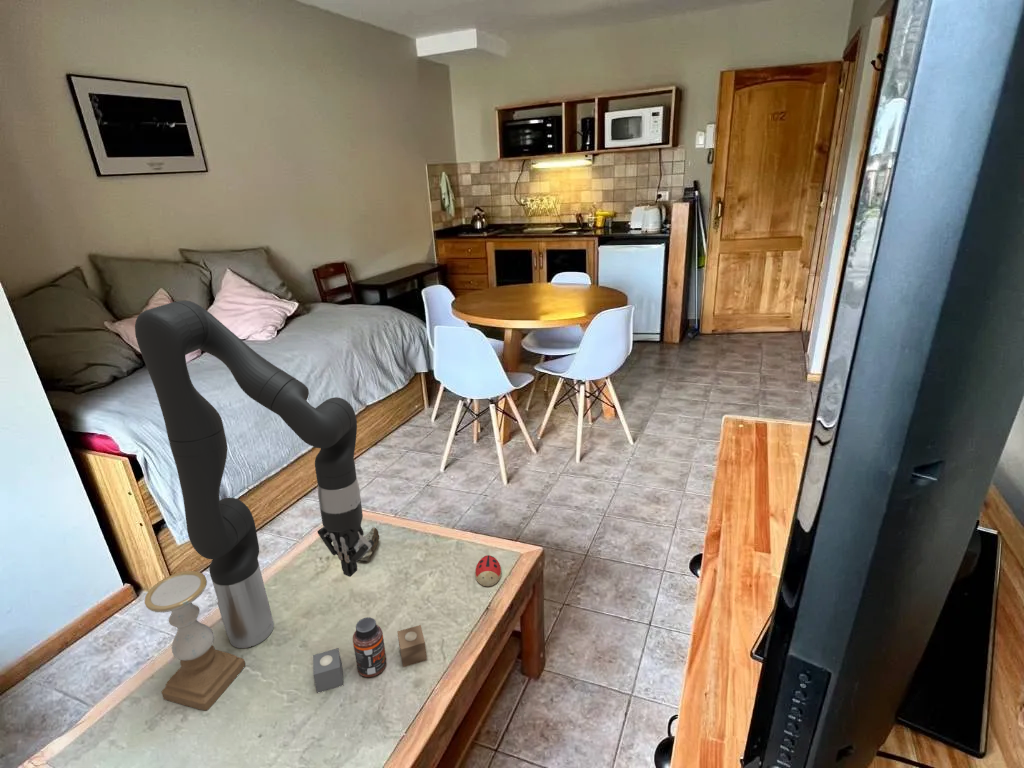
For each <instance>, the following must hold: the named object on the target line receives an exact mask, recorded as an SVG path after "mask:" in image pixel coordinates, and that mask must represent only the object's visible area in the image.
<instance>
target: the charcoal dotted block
mask: <svg viewBox="0 0 1024 768" xmlns="http://www.w3.org/2000/svg"><path fill="white" fill-rule="evenodd" d="M339 648H340V647H336V648H333V649H330V650H326V651H322V652H319V653H315V654H312V669H313V670H312V674H313V675H312V676H313V680H314V684H315V689H316V693H317V694H319V693H318V692H320V693H323V692H325V691H326V692H327V691H329V690H332V689H336V688H339V686H340V687H343V686H344V674H343V673H344V672H343V664H342V663H343V662H342V658H341V653H340V649H339ZM342 685H343V686H342ZM322 691H323V692H322Z"/></svg>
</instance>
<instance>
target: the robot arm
mask: <svg viewBox="0 0 1024 768" xmlns="http://www.w3.org/2000/svg"><path fill="white" fill-rule="evenodd" d="M134 333H135V334H134V335H135V338H136V339H135V340H136V343H137V345H138V349H139V352H140V354H141V356H142V359H143V362H144V364H145V366H146V370H147V372H148V375H149V378H150V380H151V383H152V384H153V388H154V391H155V393H156V397H157V400H158V403H159V406H160V411H161V413H162V418H163V421H164V424H165V429H166V434H167V438H168V439H167V440H168V443H169V446H170V450H171V454H172V457H173V460H174V464H175V467H176V470H177V475H178V479H179V480H178V481H179V484H180V488H181V489H180V490H181V493H182V498H183V500H182V501H183V507H184V514H185V515H184V516H185V523H186V530H187V535H188V539H189V541H190V544H191V546H192V547H193V549H194V551H196V553H197V554H198V555H200V556H201V557H202V558H204V559H207V560H211V562H210V564H209V575H210V578H211V582H212V585H213V589H214V592H215V596H216V598H217V607H218V611H219V614H220V617H221V620H222V624H223V628H224V630H225V634H226V636H227V637H228V641H229V642H230V644H231V646H232V647H235V648H237V649H247V648H251V646H252V647H254V646H257V645H259V644H261V643H262V642H263V641H265V640H266V639H268V637H269V636H270V635H271V634H272V632H273V630H274V628H275V626H274V625H275V624H274V619H273V616H272V610H271V606H270V603H269V602H270V601H269V598H268V595H267V591H266V587H265V582H264V579H263V575H262V571H261V567H260V564H259V563H260V562H259V560H258V559H259V555H260V545H259V540H258V539H259V538H258V534H257V529H256V528H257V527H256V523H255V522H256V521H255V520H254V516H253V513H252V511H251V509H249V507H248V506H247V504H246V503H244V502H243V501H242V500H240V499H238V498H236V497H225V498H221V499H220V491H221V485H222V480H223V475H224V472H225V468H226V464H227V463H226V462H227V457H228V442H227V437H226V434H225V433H226V432H225V427H224V423H223V419H222V417H221V414H220V413H219V411H217V409H216V408H215V407H214V406H213V405H212V404H211V402H210V401H208V400H207V398H205V397H204V396H203V395H202V394H201V393H200V392H199V391H198V390H197V389H196V388H195V386H194V385H193V382H192V379H191V376H190V373H189V370H188V366H187V361H186V360H187V359H186V355H188V354H191V353H193V352H196V351H199V350H200V351H202V352H205V353H207V354H209V355H211V356H213V357H215V358H216V359H218V360H219V361H221V362H222V363H223V364H224V365H225V366H226V367H227V369H228V370H229V371H230V373H231V375H232V376H233V378H234V380H235V382H236V383H237V385H238V386H239V387H240V389H241V390H242V391H243V392H244V393H245V394H246V395H247V396H248V397H249V398H250V399H252V400H253V401H255V402H257V404H260V405H261V406H262V407H264V408H266V409H267V410H270V411H271V412H272V413H274V414H276V415H278V416H279V417H280V418H281V420H283V422H284V423H285V424H286V425H287V426H288V427H289V428H290V429H291V430H292V431H293V432H294V433H295V435H297V437H299V439H300V440H301V441H303V442H304V443H306V444H307V445H309V446H311V447H313V448H317V449H319V451H318V453H317V455H316V456H315V460H314V468H315V477H316V481H317V499H318V505H319V510H320V517H321V523H322V527H321V528H319V529H318V530H317V535H318V536H319V537H320V539H321V541H322V542H323V543H324V545H325V546H326V548H327V549H328V550H329V552H330V553H331V555H333V556H336V555H337V558H338V560H339V561H340V564H341V570H342V573H343V575H344V576H347V577H353V575H354V574H355V573H356V572H358V561H360V558H362V557H363V556H364V555H365V554H366V553H367V552H368V550H369V549H370V548H371V547H372V546H373V545H374V542H373V540H369V541H367V539H366V538H365V537H364V536H365V535H364V533H365V532H364V529H363V528H362V521H363V518H364V517H363V516H364V515H363V509H362V508H363V507H362V499H361V491H360V485H359V482H358V478H357V472H356V471H357V469H356V462H355V450H356V443H357V430H358V422H357V421H358V420H357V415H356V412H355V409H354V408H353V406H352V405H351V403H350V402H348V401H347V400H346V399H344V398H341V397H330V398H328V399H326V400H325V401H323V402H321V404H319V405H318V406H316V407H314V406H313V405H312V404H310V403H309V402H308V401H307V400H308V398H309V395H310V390H309V388H308V387H307V385H306V384H304V383H303V382H302V381H300V380H298V379H297V378H296V377H294V376H292V375H290V374H289V373H287V372H286V371H284V370H283V369H281V368H279V367H278V366H276V365H274V363H272V362H270V361H269V360H267V359H265V357H262V356H261V355H260V354H259V353H258V352H256V351H255V350H254V349H252V347H250V346H249V345H248V344H246V343H245V342H244V341H243V340H242V339H241V338H240V337H239V336H237V334H235V333H234V332H233V331H231V330H230V329H229V328H228V327H227V326H226V325H224V324H223V323H222V322H221V321H220V320H219V319H217V317H215V316H214V315H213V314H211V312H209V311H208V310H206V309H205V308H204V307H202V306H201V305H199V304H198V303H196V302H193V301H190V300H178V301H172V302H169V303H166V304H162V305H159V306H155V307H152V308H149V309H146V310H144V311H142V312H140V313H139V314H138V315H137V317H136V319H135V322H134ZM358 546H359V547H358ZM357 548H358V551H357Z"/></svg>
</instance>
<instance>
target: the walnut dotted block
mask: <svg viewBox="0 0 1024 768" xmlns="http://www.w3.org/2000/svg"><path fill="white" fill-rule="evenodd" d="M396 633H397V638H398V639H397V640H398V645H399V652H400V658H401V662H402V668H405V667H409V666H412V665H415V664H419V663H423V662H425V661H428V657H427V648H426V640H425V637H424V632H423V629H422V625H421V624H419V625H416V626H412V627H408V628H404V629H401V630H397V632H396Z"/></svg>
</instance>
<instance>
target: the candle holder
mask: <svg viewBox="0 0 1024 768" xmlns="http://www.w3.org/2000/svg"><path fill="white" fill-rule="evenodd" d="M207 583H208V581H207V577H206V575H205V574H203V573H202V572H200V571H197V570H196V571H195V570H186V571H181V572H178V573H173V574H171V575H169V576H166V577H165V578H162V579H161V580H160V581H158V582H157V583H155V584H154V585H153V586H152V587H151V588H150V589H148V592H147V593H146V595H145V597H144V605H145V607H146V608H147V609H148V610H149V611H151V612H155V613H169V612H170V613H171V614H170V616H169V617H168V623H169V625H170V626H173V627H175V628H177V631H176V634H175V636H174V638H173V640H172V644H171V653H172V655H173V657H174V658H176V660H178V661H179V664H180V667H179V668H178V670H177V671H176V672H175V673H174V674H173V675H172V676H170V678H169V679H168V680H167V681H166V683H165V687H164V688H163V689H162V691H161V695H162V698H163V700H165V701H168V702H172V703H176V704H179V705H182V706H186V707H190V708H193V709H196V710H200V711H205V712H206V711H209V709H210V708H211V707H212V706H213V705H214V704H215V703H216V702H217V701H218V700H219V699H220V697H221V696H222V695H223V694H224V692H225V691H226V690H227V689H228V688H229V687H230V685H231V684H232V683H233V682H234V681H235V680H236V679H237V677H238V676H239V675H240V674H241V673H242V671H243V670H244V669H243V667H244V666H245V664H246V662H245V659H244V658H242V657H239V656H237V655H235V654H233V653H229V652H227V651H222V650H219V649H215V646H214V645H213V644H214V641H215V633H214V631H213V630H212V629H211V627H210V626H209V625H208V624H205V623H202V622H200V621H199V620H198V617H199V614H200V611H201V610H200V607H199V606H198V605H196V604H194V603H193V602H194V601H196V600H197V599H198V598H199V597H200V596H202V594H203V593H204V592H205V590H206V588H207ZM245 667H246V666H245ZM242 669H243V670H242ZM241 670H242V671H241ZM240 672H241V673H240ZM239 673H240V674H239ZM238 674H239V675H238ZM237 675H238V676H237ZM234 679H235V680H234Z"/></svg>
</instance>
